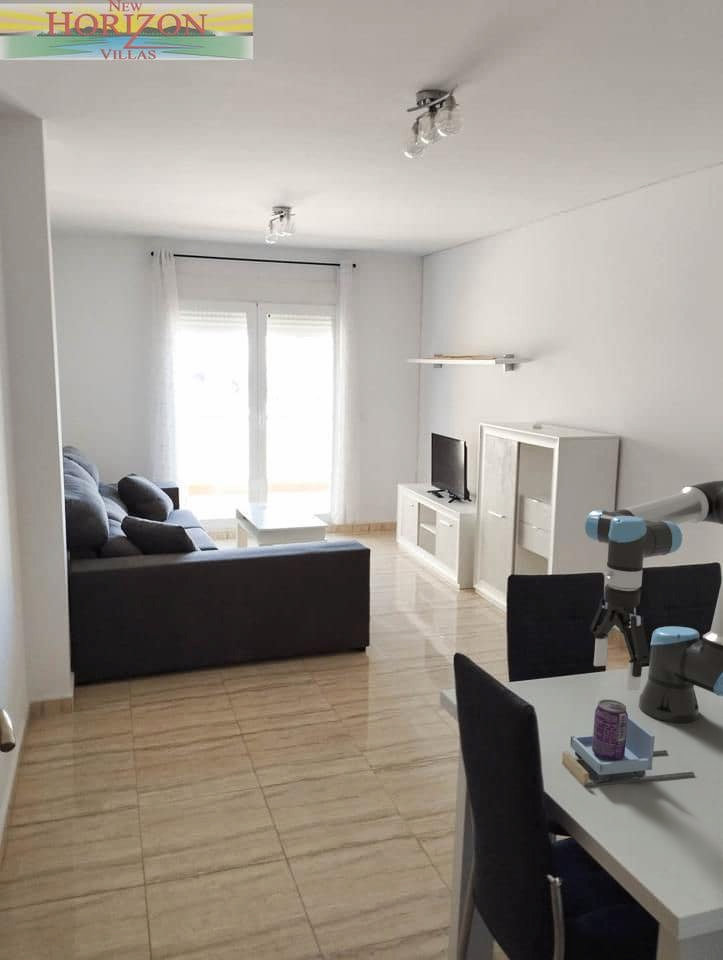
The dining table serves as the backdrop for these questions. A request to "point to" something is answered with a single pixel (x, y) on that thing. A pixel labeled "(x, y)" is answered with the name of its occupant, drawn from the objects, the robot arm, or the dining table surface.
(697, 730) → the dining table surface
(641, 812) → the dining table surface
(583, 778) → the track
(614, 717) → the beverage can
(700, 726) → the dining table surface
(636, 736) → the pale blue open box
